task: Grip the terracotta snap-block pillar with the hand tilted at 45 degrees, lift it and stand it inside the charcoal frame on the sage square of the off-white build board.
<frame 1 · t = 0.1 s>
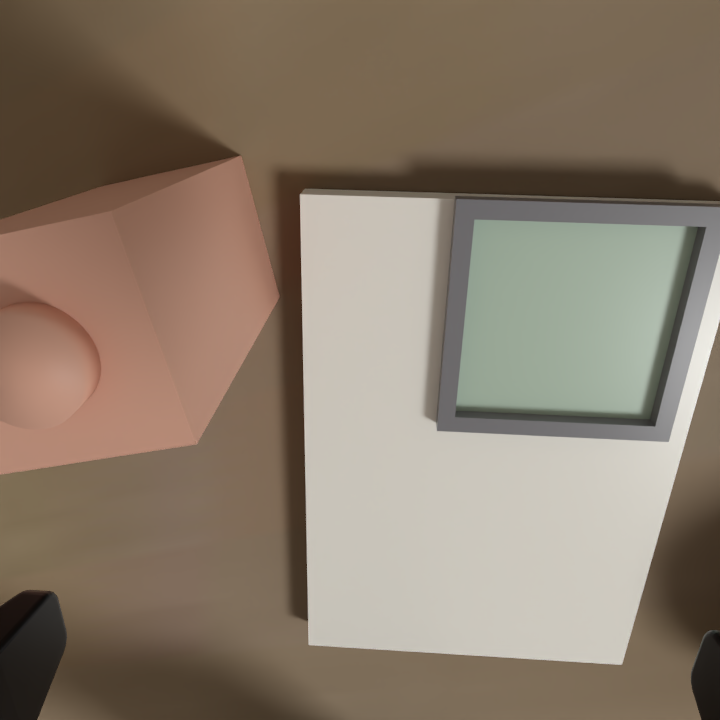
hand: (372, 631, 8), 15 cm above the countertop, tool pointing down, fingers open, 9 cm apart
build board: (483, 451, 24), on the countertop
pillar: (193, 243, 21), on the countertop
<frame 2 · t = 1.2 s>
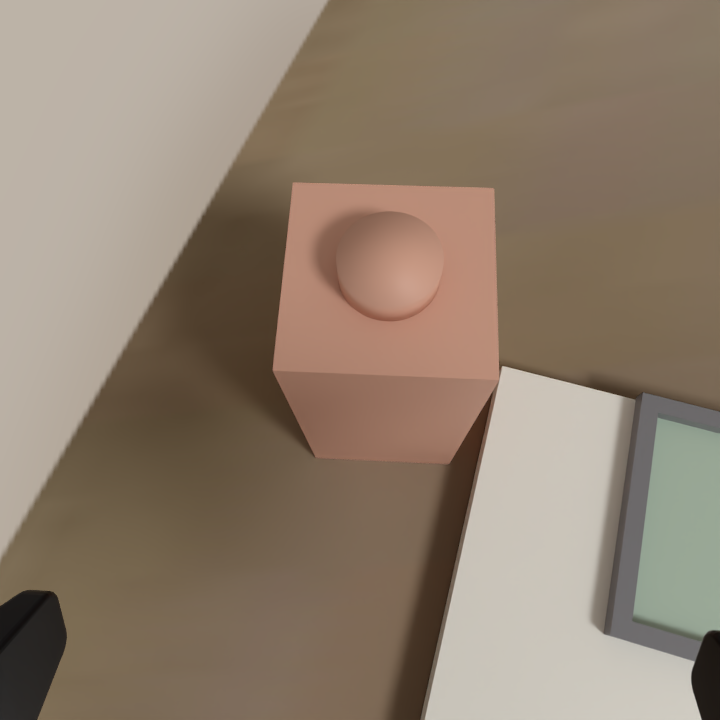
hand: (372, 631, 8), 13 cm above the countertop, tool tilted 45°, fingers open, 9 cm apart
build board: (647, 712, 20), on the countertop
pillar: (384, 397, 24), on the countertop
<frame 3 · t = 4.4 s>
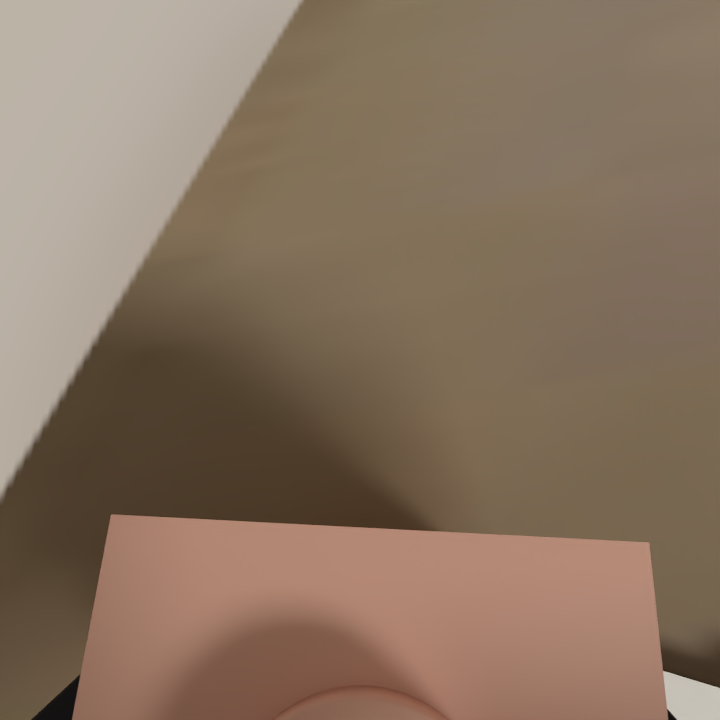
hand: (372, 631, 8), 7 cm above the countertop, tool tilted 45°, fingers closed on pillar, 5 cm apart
pillar: (371, 675, 14), on the countertop, touching gripper
when the fingers open (9 cm above the countertop, at t = 9.6 s): pillar drops 1 cm, resting on build board.
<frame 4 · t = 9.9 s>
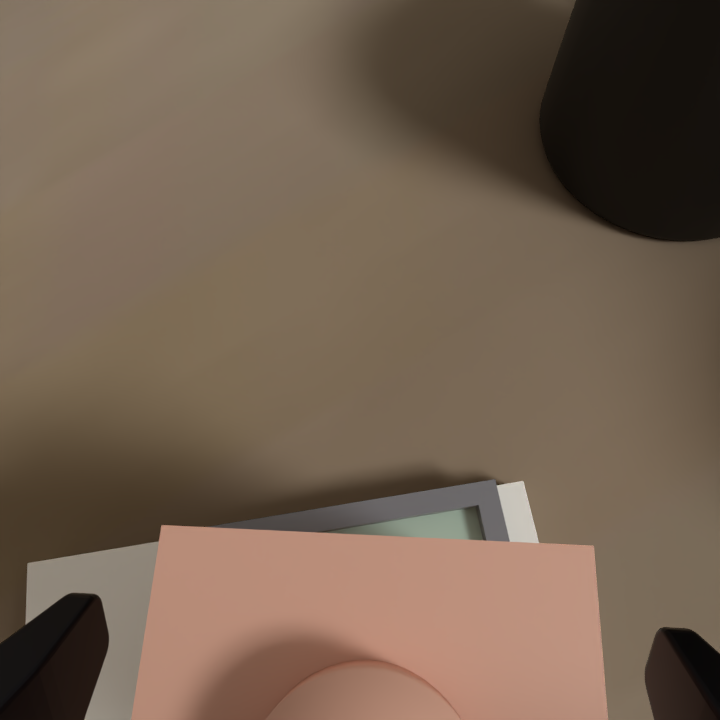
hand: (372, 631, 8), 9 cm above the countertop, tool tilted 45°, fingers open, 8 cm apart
mug: (659, 113, 23), on the countertop
pillar: (372, 665, 15), point 1 cm above the countertop, touching build board
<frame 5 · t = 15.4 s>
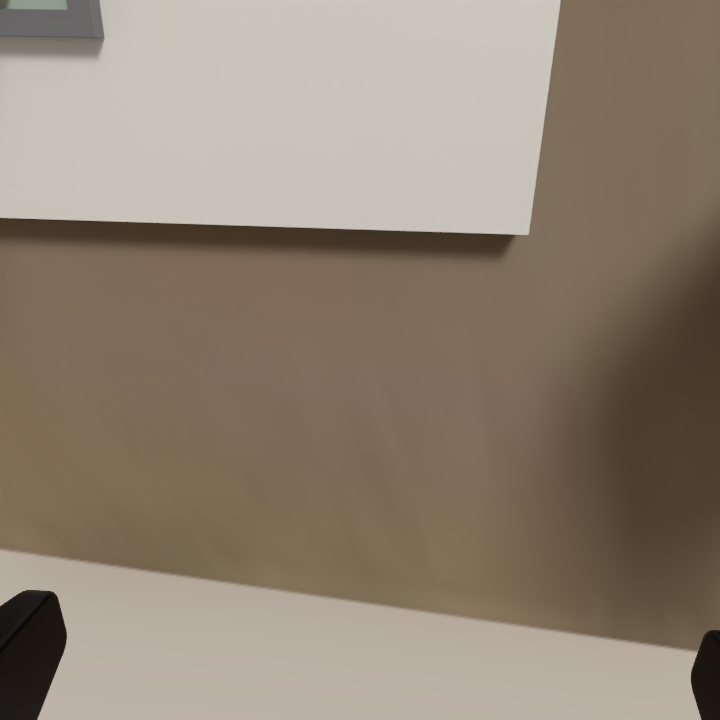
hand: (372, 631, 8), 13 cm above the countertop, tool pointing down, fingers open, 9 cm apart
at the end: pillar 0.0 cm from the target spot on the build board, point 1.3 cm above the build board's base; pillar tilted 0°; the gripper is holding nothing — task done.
